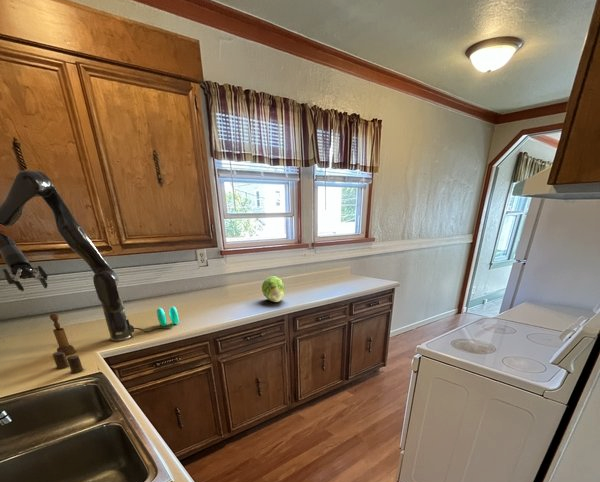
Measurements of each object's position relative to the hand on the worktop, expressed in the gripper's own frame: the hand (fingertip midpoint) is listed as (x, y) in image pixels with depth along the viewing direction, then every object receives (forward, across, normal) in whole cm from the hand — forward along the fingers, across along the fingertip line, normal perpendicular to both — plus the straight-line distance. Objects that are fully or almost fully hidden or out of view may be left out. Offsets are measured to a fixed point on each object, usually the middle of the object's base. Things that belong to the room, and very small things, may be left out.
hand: (34, 288), depth 141 cm
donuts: (+27, +54, +12) cm, 61 cm away
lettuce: (+35, +135, +4) cm, 140 cm away
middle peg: (+39, -8, 0) cm, 40 cm away
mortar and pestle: (+28, 0, +11) cm, 30 cm away
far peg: (+46, -6, -7) cm, 46 cm away
